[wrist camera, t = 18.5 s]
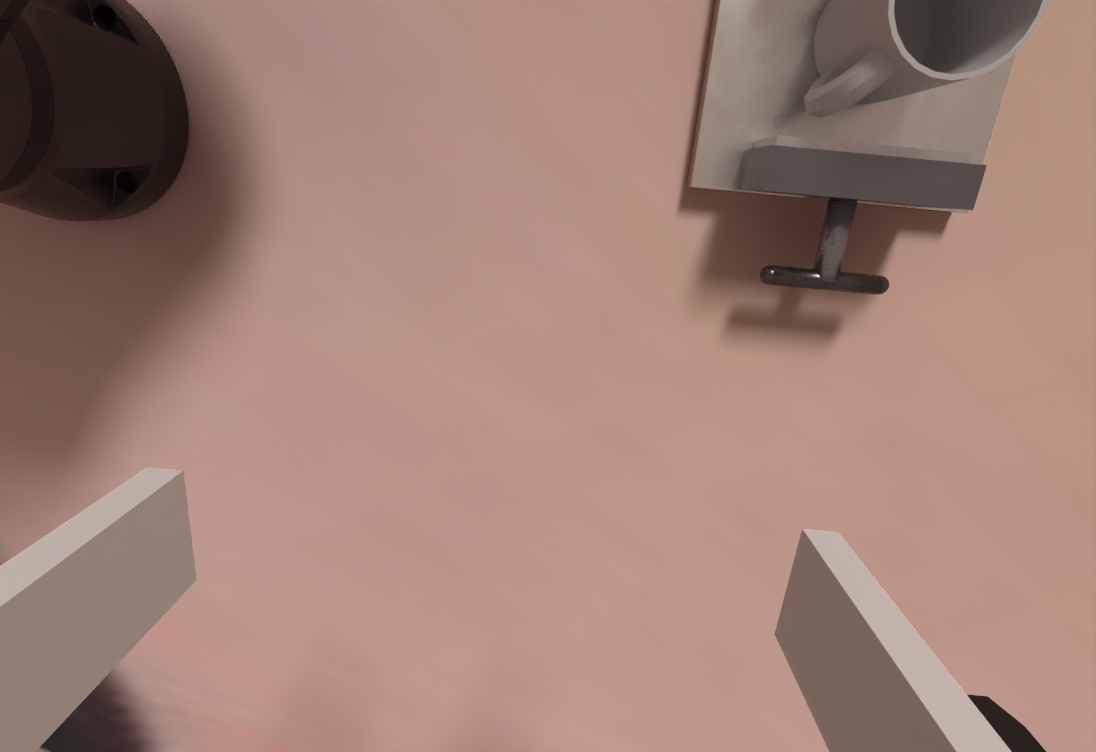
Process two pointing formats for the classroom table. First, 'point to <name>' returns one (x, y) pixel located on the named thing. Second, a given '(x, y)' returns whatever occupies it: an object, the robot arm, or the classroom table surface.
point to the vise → (830, 135)
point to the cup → (911, 46)
